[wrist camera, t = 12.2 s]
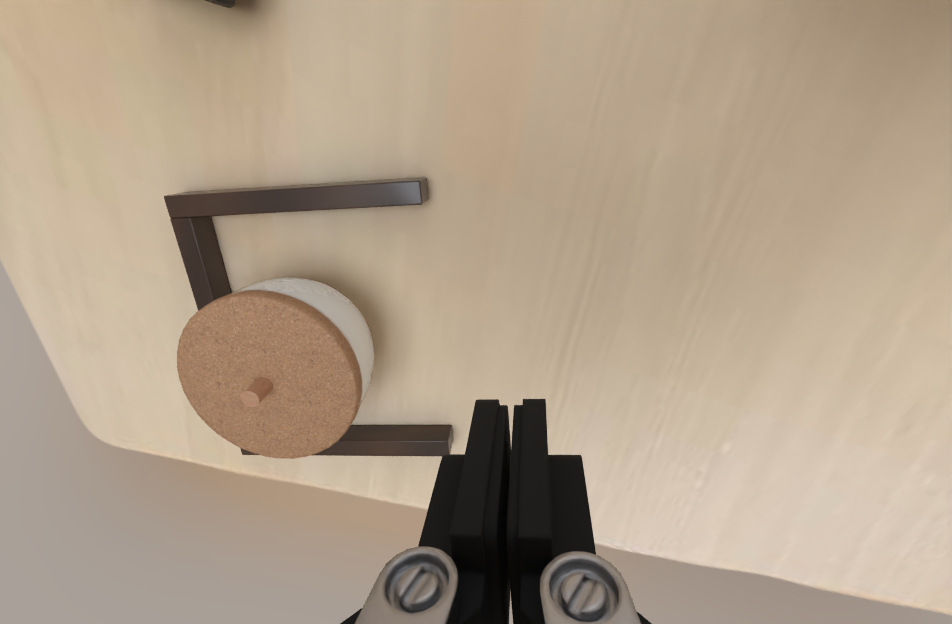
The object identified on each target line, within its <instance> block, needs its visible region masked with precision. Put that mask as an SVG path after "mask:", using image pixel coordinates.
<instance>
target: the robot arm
mask: <svg viewBox="0 0 952 624" xmlns="http://www.w3.org/2000/svg"><path fill="white" fill-rule="evenodd" d="M510 589H511V601H512V613H513V624H651V623H650V622H649V621H648V620H646V619H645V618H644V617H643V616H641V615H640V614H639V613H638V612H637V611H636V609H635V606H634V603H633V600H632V598H631V595H630V592H629V590H628V587H627V584H626V582H625V581H624V579H623V577H622V575H621V573H620V572H619V571H618V570H617V569H616V568H615V567H614V566H613V565H612V564H611V563H610V562H608V561H607V560H605V559H604V558H602V557H600V556H598V555H596V552H595V545H594V538H593V531H592V524H591V517H590V510H589V503H588V497H587V490H586V483H585V476H584V469H583V462H582V457H581V455H548V444H547V422H546V401H545V399H523V405H514V416H513V432H512V448H511V443H510V430H509V416H508V406H507V405H500V404H499V400H498V399H496V400H476V402H475V407H474V412H473V417H472V422H471V427H470V432H469V437H468V442H467V447H466V452H465V455H451V454H444V456H443V457H442V460H441V463H440V467H439V470H438V474H437V478H436V482H435V486H434V489H433V493H432V497H431V501H430V504H429V508H428V512H427V516H426V520H425V523H424V527H423V531H422V535H421V538H420V542H419V546H418V547H415V548H410V549H407V550H405V551H403V552H401V553H399V554H397V555H396V556H395V557H393V558H392V559H391V560H390V561H389V562H388V563H387V564H386V565H385V567H384V568H383V570H382V571H381V572H380V574H379V576H378V578H377V580H376V582H375V584H374V586H373V588H372V590H371V592H370V594H369V596H368V598H367V600H366V602H365V604H364V606H363V608H362V609H360V610H359V611H357V612H356V613H355V614H353V615H352V616H350V617H349V618H348V619H346V620H345V621H343V622H342V623H341V624H509V606H510Z"/></svg>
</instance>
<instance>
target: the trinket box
mask: <svg viewBox="0 0 952 624" xmlns="http://www.w3.org/2000/svg"><path fill="white" fill-rule="evenodd" d="M373 364H374V348H373V342H372V336H371V333H370V330H369V327H368V325H367V323H366V321H365V319H364V317H363V316H362V314H361V313H360V312H359V310H358V309H357V307H356V306H355V305H354V304H353V303H352V302H351V301H350V300H349V299H348V298H346V297H345V296H344V295H343V294H341V293H340V292H338V291H337V290H335V289H333V288H332V287H330V286H328V285H325V284H323V283H320V282H317V281H313V280H309V279H303V278H294V277H288V278H276V279H270V280H266V281H261V282H258V283H255V284H252V285H249V286H247V287H244V288H242V289H240V290H237V291H235V292H233V293H230V294H228V295H226V296H223V297H221V298H218V299H216V300H214V301H212V302H211V303H209V304H207V305H206V306H204V307H203V308H201V309H200V310H199V311H198V312H197V313H196V314H195V315H194V316H193V317H192V318H191V319H190V320H189V322H188V323H187V325H186V326H185V328H184V330H183V332H182V335H181V337H180V340H179V345H178V351H177V368H178V373H179V378H180V382H181V385H182V388H183V391H184V393H185V395H186V396H187V398H188V400H189V402H190V404H191V405H192V407H193V408H194V410H195V411H196V413H197V414H198V415H199V416H200V417H201V418H202V420H203V421H204V422H205V423H206V424H207V425H208V426H209V427H210V428H212V429H213V430H214V431H215V432H216V433H217V434H218V435H220V436H221V437H223V438H224V439H226V440H227V441H229V442H231V443H233V444H234V445H236V446H238V447H240V448H242V449H244V450H247V451H250V452H252V453H255V454H259V455H263V456H266V457H274V458H299V457H305V456H309V455H313V454H316V453H319V452H321V451H323V450H325V449H327V448H329V447H330V446H332V445H333V444H335V443H336V442H337V441H339V439H340V438H341V437H342V436H343V435H344V434H345V433H346V432H347V430H348V428H349V427H350V425H351V424H352V422H353V420H354V419H355V417H356V414H357V412H358V409H359V406H360V404H361V403H362V401H363V399H364V397H365V394H366V391H367V389H368V386H369V383H370V380H371V376H372V370H373Z"/></svg>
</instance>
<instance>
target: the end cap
mask: <svg viewBox="0 0 952 624" xmlns="http://www.w3.org/2000/svg"><path fill="white" fill-rule="evenodd" d="M206 1H209V2H211V3H214V4H217V5H220V6H224V7H227V8H232V7H234V5H235V0H206Z"/></svg>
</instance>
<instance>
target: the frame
mask: <svg viewBox="0 0 952 624" xmlns="http://www.w3.org/2000/svg"><path fill="white" fill-rule="evenodd" d="M164 199H165V202H166V206H167V209H168V212H169V215H170V218H171V222H172V226H173V229H174V232H175V235H176V239H177V242H178V245H179V249H180V252H181V255H182V258H183V262H184V265H185V268H186V272H187V275H188V278H189V281H190V285H191V288H192V291H193V295H194V298H195V301H196V304H197V308H198V311H199V310H200V309H201V308H203V307H204V306H206V305H207V304H209V303H211V302H212V301H214V300H216V299H218V298H221V297H223V296H226V295H228V294H230V293H231V289H230V286H229V282H228V278H227V275H226V271H225V267H224V264H223V260H222V256H221V253H220V249H219V245H218V242H217V238H216V234H215V231H214V227H213V223H212V220H211V216H222V215H240V214H258V213H277V212H295V211H313V210H331V209H349V208H367V207H386V206H404V205H421V204H423V203H424V202H426V201H427V200H428V189H427V179H426V178H425V177H422V178H406V179H390V180H374V181H358V182H342V183H325V184H309V185H293V186H277V187H261V188H244V189H228V190H212V191H196V192H183V193H178V194H172V195H167V196H164ZM452 443H453V434H452V426H451V425H350V427H349V428H348V430H347V432H346V433H345V434H344V435H343V436H342V437H341V438H340V439H339V441H337V442H336V443H335V444H333V445H332V446H330V447H329V448H327V449H325V450H323V451H321V452H319V453H316V454H313V455H342V456H444V454H450V451H451V447H452ZM241 452H242V454H243V455H259V454H255V453H252V452H250V451H247V450H244V449H242V448H241Z"/></svg>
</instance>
